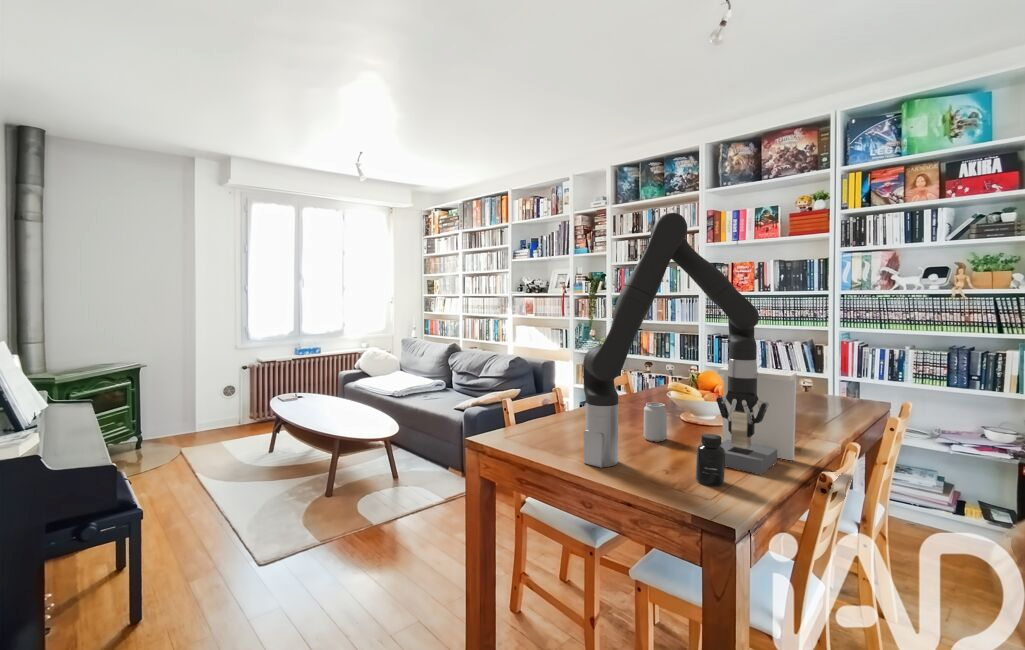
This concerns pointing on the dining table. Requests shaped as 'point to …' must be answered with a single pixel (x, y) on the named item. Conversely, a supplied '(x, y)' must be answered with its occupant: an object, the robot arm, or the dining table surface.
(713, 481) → the supplement bottle
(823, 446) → the dining table surface
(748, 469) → the socket
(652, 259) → the robot arm
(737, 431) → the peg
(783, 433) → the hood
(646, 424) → the can
